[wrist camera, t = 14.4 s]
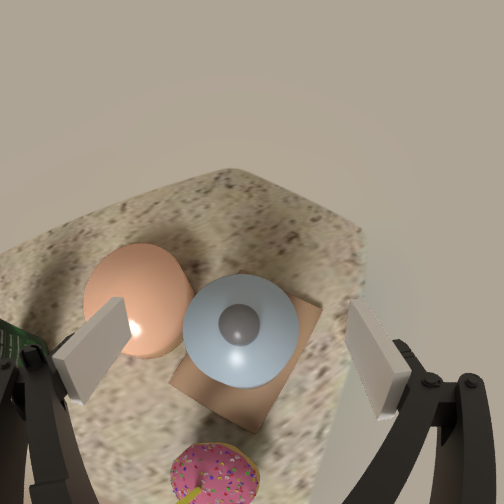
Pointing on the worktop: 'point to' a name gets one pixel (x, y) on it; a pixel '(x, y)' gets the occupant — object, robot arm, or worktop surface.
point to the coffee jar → (16, 342)
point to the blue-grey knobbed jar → (241, 330)
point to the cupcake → (214, 475)
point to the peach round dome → (143, 296)
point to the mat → (244, 400)
